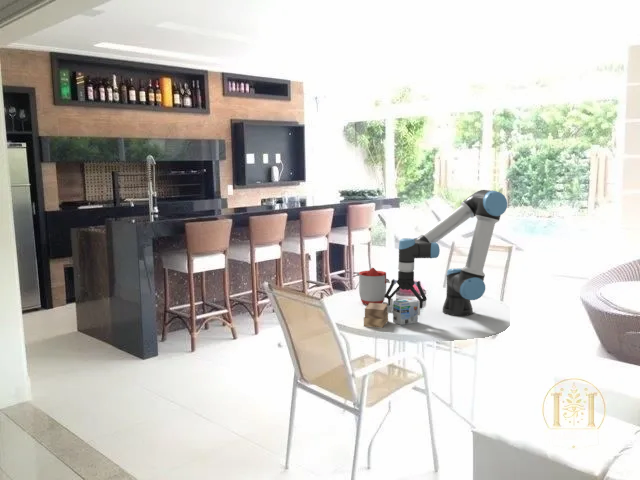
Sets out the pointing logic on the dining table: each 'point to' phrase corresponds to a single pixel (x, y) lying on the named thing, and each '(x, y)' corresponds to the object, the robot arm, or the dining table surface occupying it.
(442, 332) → the dining table surface
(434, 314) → the dining table surface
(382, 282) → the citrus juicer
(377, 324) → the tower base
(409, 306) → the light bulb box
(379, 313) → the tower top
